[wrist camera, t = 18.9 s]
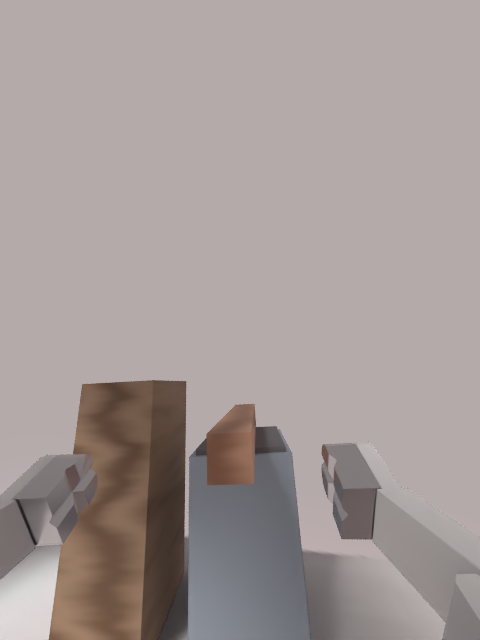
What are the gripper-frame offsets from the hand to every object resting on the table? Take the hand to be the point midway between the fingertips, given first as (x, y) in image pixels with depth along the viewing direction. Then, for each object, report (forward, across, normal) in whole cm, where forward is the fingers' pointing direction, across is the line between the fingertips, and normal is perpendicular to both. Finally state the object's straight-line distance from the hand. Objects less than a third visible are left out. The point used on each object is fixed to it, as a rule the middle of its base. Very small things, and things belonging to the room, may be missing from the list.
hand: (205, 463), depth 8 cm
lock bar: (+15, 0, +12) cm, 19 cm away
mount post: (+9, +13, +29) cm, 33 cm away
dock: (+9, 0, +29) cm, 30 cm away
